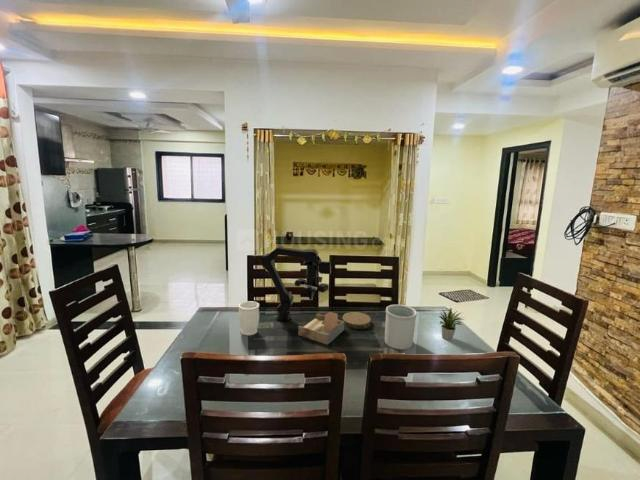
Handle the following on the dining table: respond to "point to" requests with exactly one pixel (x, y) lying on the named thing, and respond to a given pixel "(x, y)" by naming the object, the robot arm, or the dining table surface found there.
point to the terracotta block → (330, 321)
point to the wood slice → (356, 320)
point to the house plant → (449, 324)
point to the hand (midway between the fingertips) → (310, 299)
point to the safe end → (328, 337)
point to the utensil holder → (400, 326)
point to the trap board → (312, 327)
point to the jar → (248, 317)
